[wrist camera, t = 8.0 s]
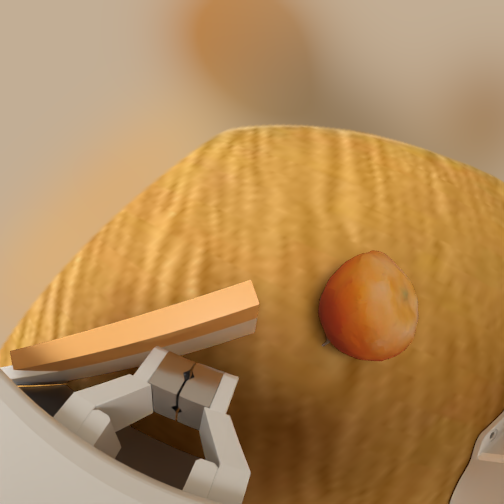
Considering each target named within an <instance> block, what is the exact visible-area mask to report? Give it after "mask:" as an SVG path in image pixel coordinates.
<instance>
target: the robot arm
mask: <svg viewBox="0 0 504 504" xmlns="http://www.w3.org/2000/svg"><path fill="white" fill-rule="evenodd" d="M238 379H239V377H237V376H234V375H231V374H228V373H225V372H223V371H220V370H217V369H214V368H212V367H209V366H206V365H203V364H200V363H197V364H196V362H194V361H191V360H189V359H186V358H184V357H182V356H180V355H177V354H175V353H173V352H171V351H168V350H166V349H164V348H161V347H159V346H156V347H154V348H153V350H152V351H151V352H150V354H149V355H148V356H147V358H146V359H145V360H144V362H143V363H142V364H141V366H140V367H139V368H138V370H137V371H136V372H135V374H134V375H131V374H128V375H125V376H122V377H119V378H116V379H113V380H111V381H108V382H105V383H102V384H99V385H95V386H92V387H89V388H86V389H83V390H80V391H76V392H74V393H73V394H72V395H71V396H70V398H69V399H68V400H67V401H66V402H65V404H64V405H63V406H62V407H61V408H60V410H59V411H58V412H57V413H56V414H55V416H54V417H52V416H51V415H49V414H48V413H47V412H46V411H45V410H43V409H42V408H41V407H40V406H39V405H38V404H36V403H35V402H34V401H33V400H32V399H31V398H30V397H29V396H27V395H26V394H25V393H24V392H23V391H22V390H21V389H20V388H19V387H18V386H17V385H16V384H15V383H14V382H13V381H12V380H11V379H10V378H9V377H8V376H7V375H6V374H5V373H4V372H3V371H2V369H1V368H0V504H242V501H243V498H244V495H245V491H246V488H247V484H248V481H249V477H250V474H251V472H250V469H249V467H248V464H247V461H246V459H245V456H244V453H243V451H242V448H241V445H240V443H239V440H238V437H237V434H236V431H235V428H234V426H233V423H232V420H231V417H230V415H227V414H226V413H227V410H228V408H229V405H230V402H231V399H232V396H233V393H234V391H235V388H236V385H237V382H238ZM153 411H154V412H156V413H158V414H161V415H163V416H165V417H168V418H170V419H173V420H176V418H177V421H178V422H180V423H182V424H184V425H187V426H189V427H192V428H194V429H197V430H199V434H200V438H201V443H202V447H203V451H204V455H205V460H204V459H199V460H196V461H195V464H194V466H193V468H192V470H191V473H190V475H189V477H188V479H187V481H186V484H185V486H184V488H183V490H180V489H177V488H175V487H172V486H170V485H167V484H165V483H162V482H160V481H158V480H156V479H153V478H151V477H149V476H147V475H145V474H143V473H140V472H138V471H136V470H134V469H132V468H130V467H129V466H127V465H125V464H123V463H121V462H119V461H117V460H116V459H115V457H116V456H117V454H118V452H119V450H120V449H121V445H120V442H119V440H118V438H117V435H116V433H115V432H116V431H118V430H120V429H122V428H124V427H126V426H128V425H130V424H132V423H134V422H136V421H138V420H140V419H142V418H144V417H146V416H148V415H150V414H152V413H153ZM177 416H178V417H177ZM450 504H504V411H503V412H502V413H501V414H500V415H499V416H498V417H497V418H496V419H495V420H494V421H493V422H492V423H491V424H490V425H489V426H488V427H487V428H486V429H485V430H484V431H483V432H482V433H481V434H480V435H479V437H478V439H477V441H476V444H475V447H474V450H473V454H472V457H471V460H470V462H469V464H468V466H467V468H466V470H465V472H464V473H463V475H462V477H461V478H460V480H459V482H458V484H457V486H456V488H455V490H454V493H453V495H452V498H451V501H450Z"/></svg>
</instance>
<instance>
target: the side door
mask: <svg viewBox="0 0 504 504" xmlns="http://www.w3.org/2000/svg"><path fill="white" fill-rule="evenodd" d="M259 305H260V304H259V301H258V298H257V295H256V293H255V290H254V287H253V284H252V282H251V280H248V281H245V282H242V283H239V284H236V285H233V286H230V287H227V288H224V289H221V290H218V291H215V292H212V293H209V294H206V295H203V296H199V297H196V298H193V299H190V300H187V301H184V302H181V303H177V304H174V305H171V306H168V307H165V308H161V309H158V310H155V311H152V312H148V313H145V314H142V315H138V316H135V317H132V318H128V319H125V320H122V321H118V322H115V323H112V324H108V325H105V326H101V327H98V328H94V329H91V330H87V331H84V332H80V333H77V334H73V335H69V336H66V337H62V338H59V339H55V340H51V341H47V342H44V343H40V344H36V345H32V346H29V347H25V348H21V349H17V350H13V351H10V354H11V360H12V366H7V367H1V369H2V371H3V372H4V373H5V374H6V375H7V376H8V377H9V378H10V379H11V380H12V381H13V382H14V383H15V384H16V385H47V384H63V383H67V382H68V381H70V380H76V379H81V378H87V377H92V376H97V375H102V374H107V373H112V372H116V371H121V370H125V369H130V368H134V367H138V366H141V364H142V363H143V362H144V360H145V359H146V358H147V356H148V355H149V354H150V352H151V351H152V350H153V348H154V347H156V346H159V347H161V348H164V349H166V350H168V351H171V352H173V353H175V354H177V355H180V356H181V355H184V354H188V353H191V352H195V351H198V350H202V349H205V348H208V347H212V346H215V345H218V344H221V343H224V342H228V341H231V340H234V339H237V338H240V337H243V336H246V335H249V334H252V333H255V328H256V322H257V316H258V311H259Z"/></svg>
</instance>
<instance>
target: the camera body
mask: <svg viewBox="0 0 504 504" xmlns="http://www.w3.org/2000/svg"><path fill="white" fill-rule="evenodd" d="M19 388H20V389H21V390H22V391H23V392H24V393H25V394H26V395H27V396H29V397H30V398H31V399H32V400H33V401H34V402H35V403H36V404H38V405H39V406H40V407H41V408H42V409H43V410H45V411H46V412H47V413H48V414H49V415H51V416H52V417H54V416H55V414H56V413H57V412H58V411H59V410H60V408H61V407H62V406H63V405H64V404H65V402H66V401H67V400H68V399H69V398H70V396H71V395H72V394H73V393H74V391H73V390H72V389H70V388H69V387H68V386H66V385H55V386H37V387H19ZM115 433H116V435H117V438H118V440H119V442H120V445H121V449H120V450H119V452H118V454H117V456H116V457H115V459H116V460H117V461H119V462H121V463H123V464H125V465H127V466H129V467H130V468H132V469H134V470H136V471H138V472H140V473H143V474H145V475H147V476H149V477H151V478H153V479H156V480H158V481H160V482H162V483H165V484H167V485H170V486H172V487H175V488H177V489H180V490H183V488H184V486H185V484H186V481H187V479H188V477H189V475H190V473H191V470H192V468H193V466H194V464H195V461H196V460H199V459H201V458H199V457H196V456H193V455H191V454H188V453H186V452H183V451H181V450H178V449H176V448H174V447H171V446H169V445H167V444H165V443H162V442H160V441H158V440H156V439H154V438H152V437H150V436H148V435H146V434H144V433H142V432H140V431H138V430H136V429H134V428H132V427H130V426H129V425H128V426H126V427H124V428H122V429H120V430H118V431H116V432H115Z"/></svg>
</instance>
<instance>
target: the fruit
mask: <svg viewBox="0 0 504 504" xmlns="http://www.w3.org/2000/svg"><path fill="white" fill-rule="evenodd" d="M318 314H319V318H320V321H321V324H322V327H323V329H324V331H325V335H326V338H327V341H326V342H325V343H324V344H323V345H322V346H325V345H327V344H328V343H330V342H331V344H332V345H333V346H334V347H336V348H337V349H338V350H339V351H341V352H343V353H345V354H347V355H349V356H351V357H354V358H356V359H360V360H369V361H383V360H386V359H389V358H392V357H395V356H397V355H398V354H400V353H401V352H402V351H404V350H405V349H406V348H407V347H408V346H409V344H410V343H411V342H412V340H413V338H414V336H415V331H416V325H417V322H418V299H417V296H416V293H415V291H414V287H413V284H412V282H411V281H410V280H409V278H408V277H407V276H406V275H405V273H404V272H403V271H402V270H401V269H400V268H399V267H398V266H397V265H396V264H395V262H394V261H393V260H392V259H391V258H390V257H388V256H387V255H386V254H384V253H382V252H380V251H370V252H368V253H362V254H360V255H357V256H355V257H354V258H352V259H350V260H348V261H346V262H345V263H344V264H343V265H342V266H341V267H340V268H339V269H338V270H337V271H336V272H335V273H334V274H333V275H332V276H331V277H330V279H329V280H328V282H327V284H326V287H325V289H324V291H323V293H322V294H321V297H320V302H319V310H318Z"/></svg>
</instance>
